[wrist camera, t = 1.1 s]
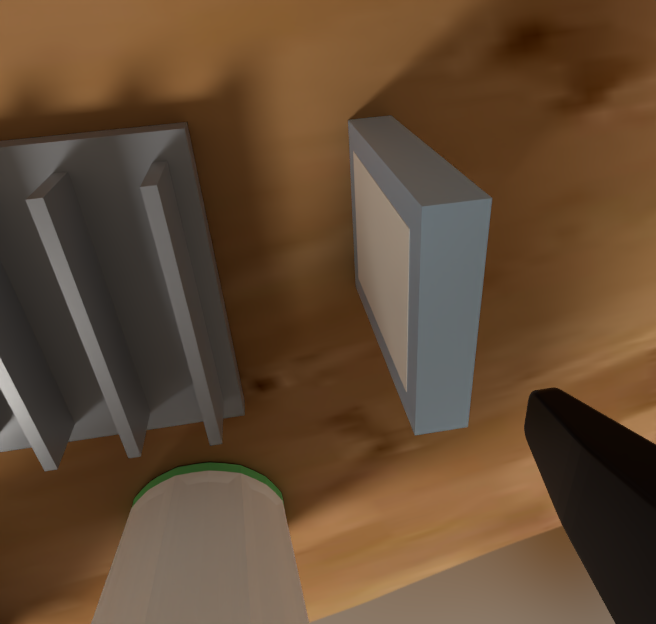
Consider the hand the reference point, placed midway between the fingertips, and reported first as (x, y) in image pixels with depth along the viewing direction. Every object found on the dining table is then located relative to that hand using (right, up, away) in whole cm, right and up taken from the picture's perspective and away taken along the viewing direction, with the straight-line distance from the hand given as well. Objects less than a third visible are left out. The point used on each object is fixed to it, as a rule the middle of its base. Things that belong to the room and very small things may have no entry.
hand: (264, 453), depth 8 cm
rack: (-9, +3, +13) cm, 16 cm away
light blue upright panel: (+3, +6, +12) cm, 14 cm away
